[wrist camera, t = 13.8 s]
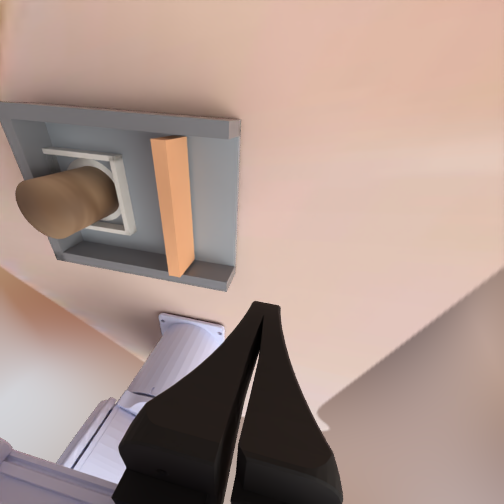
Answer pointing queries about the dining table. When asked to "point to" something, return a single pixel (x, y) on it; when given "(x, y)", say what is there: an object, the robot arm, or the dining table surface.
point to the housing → (136, 184)
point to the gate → (174, 200)
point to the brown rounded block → (67, 200)
